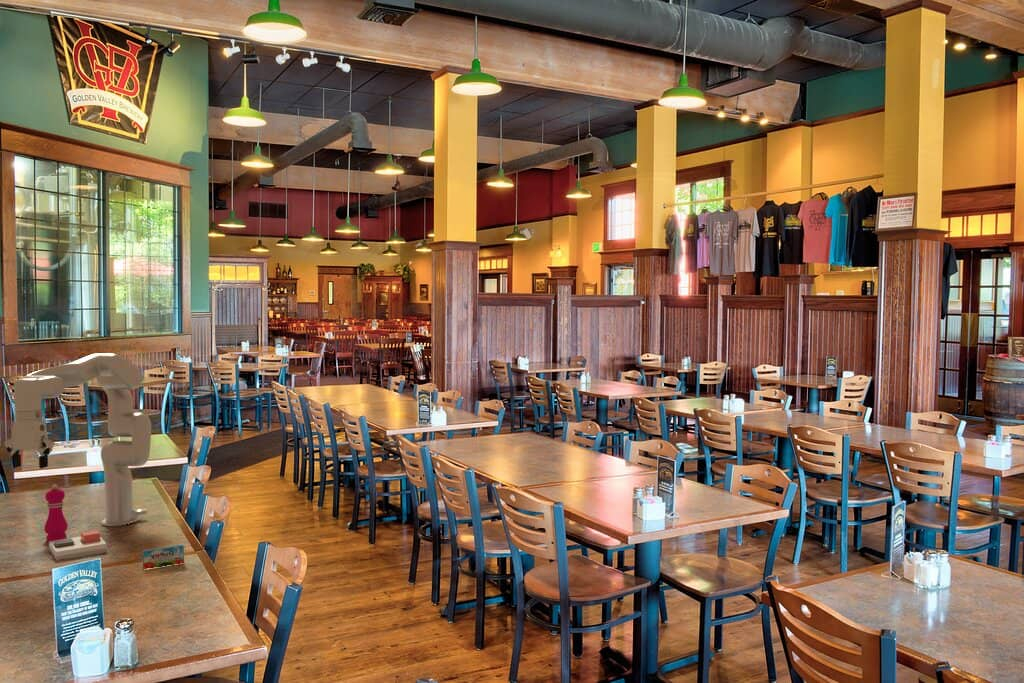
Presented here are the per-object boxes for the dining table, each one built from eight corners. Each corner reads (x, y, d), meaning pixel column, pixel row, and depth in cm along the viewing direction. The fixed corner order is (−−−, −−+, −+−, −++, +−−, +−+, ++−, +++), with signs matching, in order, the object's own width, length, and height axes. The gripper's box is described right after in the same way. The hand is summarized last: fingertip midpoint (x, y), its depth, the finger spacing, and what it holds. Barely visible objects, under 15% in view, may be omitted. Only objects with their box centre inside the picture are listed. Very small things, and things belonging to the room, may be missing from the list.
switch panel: (97, 542, 284) (97, 533, 284) (106, 552, 272) (106, 543, 272) (49, 550, 275) (48, 541, 275) (56, 560, 263) (56, 551, 263)
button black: (71, 545, 275) (71, 538, 275) (74, 548, 271) (73, 541, 271) (54, 548, 272) (54, 540, 272) (57, 551, 268) (56, 544, 268)
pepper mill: (57, 543, 283) (55, 487, 282) (39, 542, 285) (38, 486, 284) (72, 537, 290) (71, 482, 289) (55, 536, 292) (53, 481, 291)
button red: (97, 537, 280) (96, 529, 279) (100, 540, 276) (99, 533, 275) (81, 539, 276) (80, 532, 276) (83, 543, 273) (83, 535, 272)
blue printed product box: (143, 570, 253) (142, 551, 253) (142, 569, 254) (142, 550, 254) (184, 564, 259) (183, 545, 259) (183, 563, 260) (182, 544, 260)
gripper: (60, 414, 268) (62, 465, 269) (12, 414, 270) (14, 464, 271) (44, 417, 260) (46, 470, 261) (-5, 417, 263) (-3, 469, 263)
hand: (30, 467), depth 266 cm, fingers open, 9 cm apart
